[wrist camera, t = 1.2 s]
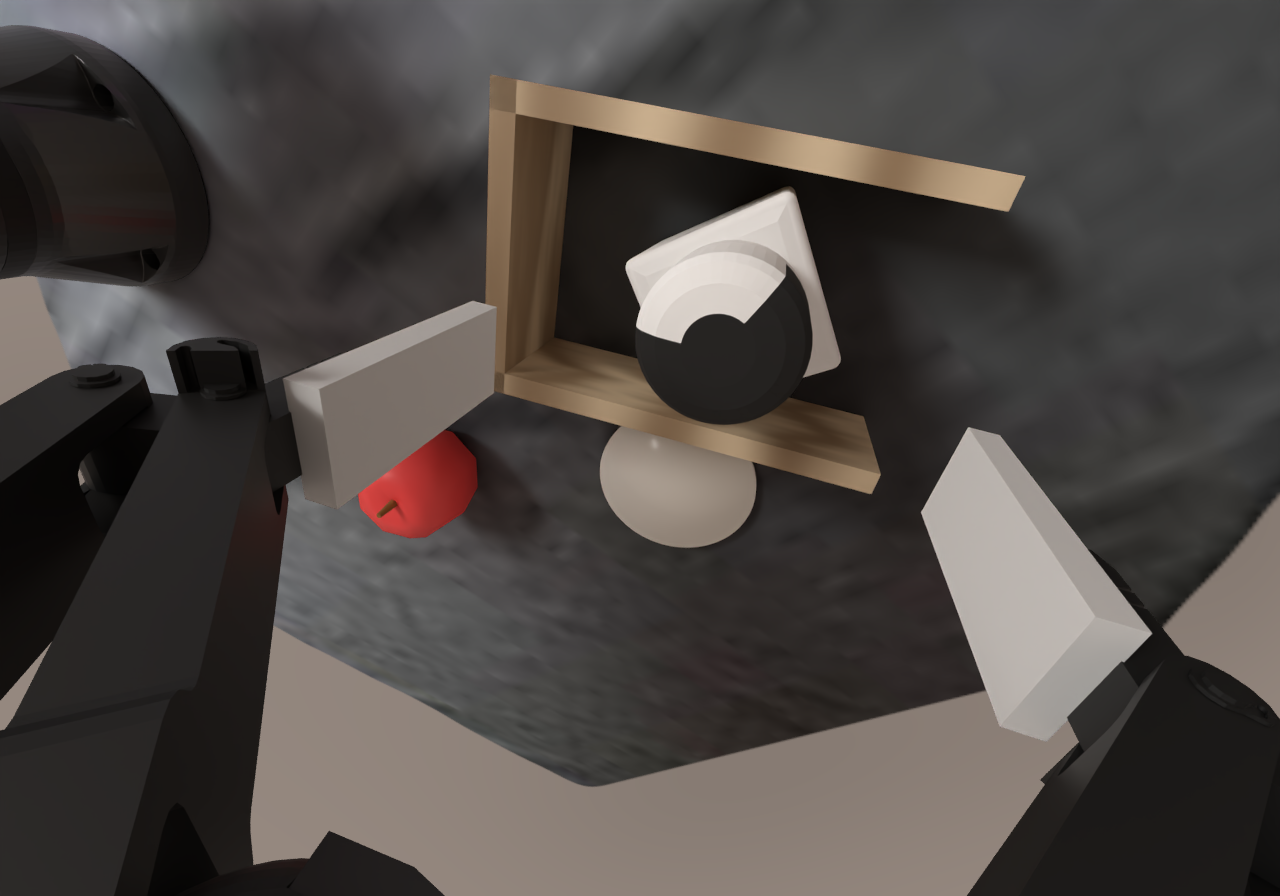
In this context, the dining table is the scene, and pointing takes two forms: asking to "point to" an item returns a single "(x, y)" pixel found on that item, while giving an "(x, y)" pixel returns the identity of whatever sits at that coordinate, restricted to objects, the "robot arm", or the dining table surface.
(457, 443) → the apple
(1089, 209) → the dining table surface
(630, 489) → the trivet
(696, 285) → the container
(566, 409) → the tan open-ended frame
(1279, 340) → the dining table surface
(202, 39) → the dining table surface
